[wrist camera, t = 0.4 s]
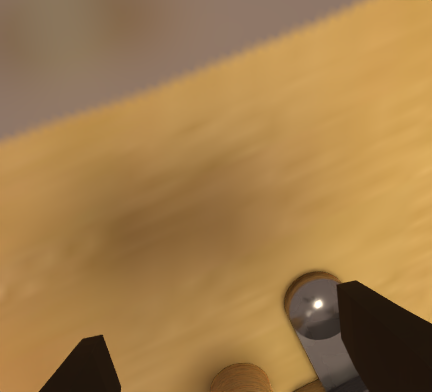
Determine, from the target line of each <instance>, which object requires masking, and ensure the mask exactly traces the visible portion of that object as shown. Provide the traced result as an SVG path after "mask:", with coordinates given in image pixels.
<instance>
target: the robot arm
mask: <svg viewBox="0 0 432 392" xmlns="http://www.w3.org/2000/svg"><path fill="white" fill-rule="evenodd" d="M336 287H337V298H338V309H339V320H340V331H341V339H342V341H343V344H344V346H345V348H346V350H347V352H348V355H349V357H350V359H351V361H352V363H353V365H354V367H355V369H356V371H357V372H358V374H359V376H360V377H361V379H362V381H363V382H364V384H365V386H366V387H367V389H368V390H369V392H432V324H431V323H429V322H428V321H426V320H424V319H422V318H420V317H418V316H416V315H414V314H413V313H411V312H409V311H407V310H406V309H404V308H402V307H400V306H399V305H397V304H395V303H393V302H392V301H390V300H388V299H387V298H385V297H383V296H381V295H380V294H378V293H376V292H375V291H373V290H371V289H370V288H368V287H366V286H365V285H363V284H361V283H360V282H358V281H356V280H355V281H351V282H346V283H341V284H337V285H336ZM39 392H121V385H120V382H119V379H118V376H117V374H116V371H115V368H114V365H113V362H112V360H111V357H110V354H109V351H108V348H107V346H106V343H105V340H104V337H103V335H98V336H94V337H89V338H84V339H82V340H81V341H80V342H79V344H78V345H77V346H76V347H75V348H74V349H73V351H72V352H71V353H70V354H69V356H68V357H67V358H66V359H65V361H64V362H63V363H62V364H61V366H60V367H59V368H58V369H57V370H56V372H55V373H54V374H53V375H52V377H51V378H50V379H49V380H48V381H47V383H46V384H45V385H44V386H43V387H42V389H41V390H40V391H39Z"/></svg>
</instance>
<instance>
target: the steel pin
mask: <svg viewBox="0 0 432 392" xmlns="http://www.w3.org/2000/svg"><path fill="white" fill-rule="evenodd" d="M210 392H273V391H272V388H271V385H270V382H269V379H268V377H267V375H266V373H265V372H264V371H263V370H262V369H260V368H259V367H257V366H255V365H252V364H246V363H240V364H234V365H231V366H229V367H227V368H225V369H223V370H222V371H221V372H220V373H219V374H218V375H217V376H216V377H215V379H214V380H213V382H212V385H211V391H210Z"/></svg>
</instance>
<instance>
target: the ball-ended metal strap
mask: <svg viewBox="0 0 432 392" xmlns="http://www.w3.org/2000/svg"><path fill="white" fill-rule="evenodd" d="M337 284H341V282H340V281H339V280H338V279H337V278H336V277H334V276H333V275H331V274H328V273H325V272H312V273H308V274H305V275H303V276H301V277H300V278H298V279H297V280H296V281H295V282H294V283H293V284H292V285H291V286H290V288H289V289H288V291H287V293H286V297H285V311H286V313H287V316H288V318H289V320H290V322H291V324H292V326H293V328H294V330H295V332H296V334H297V336H298V338H299V340H300V342H301V344H302V346H303V348H304V350H305V352H306V354H307V356H308V358H309V360H310V362H311V364H312V366H313V368H314V370H315V372H316V374H317V375H318V377H319V379H318V380H316V381H314V382H312V383H310V384H308V385H306V386H304V387H302V388H300V389H298V390H296V391H294V392H369V390H368V389H367V387H366V386H365V384H364V382H363V381H362V379H361V377H360V376H359V374H358V372H357V371H356V369H355V367H354V365H353V363H352V361H351V359H350V357H349V355H348V352H347V350H346V348H345V346H344V344H343V341H342V339H341V331H340V320H339V309H338V298H337V287H336V285H337Z"/></svg>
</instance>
